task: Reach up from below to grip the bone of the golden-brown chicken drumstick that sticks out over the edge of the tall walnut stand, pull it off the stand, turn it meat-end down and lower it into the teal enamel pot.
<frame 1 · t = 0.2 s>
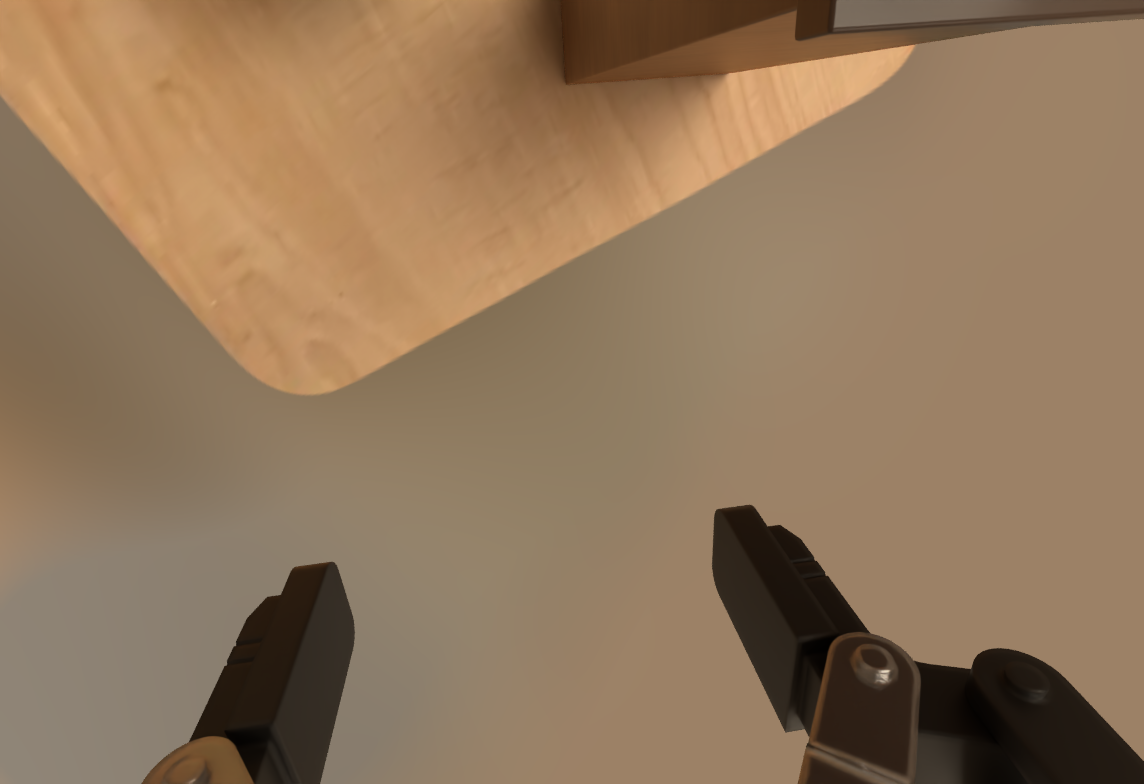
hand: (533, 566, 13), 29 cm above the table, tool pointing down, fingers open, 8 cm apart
stand: (648, 20, 34), on the table
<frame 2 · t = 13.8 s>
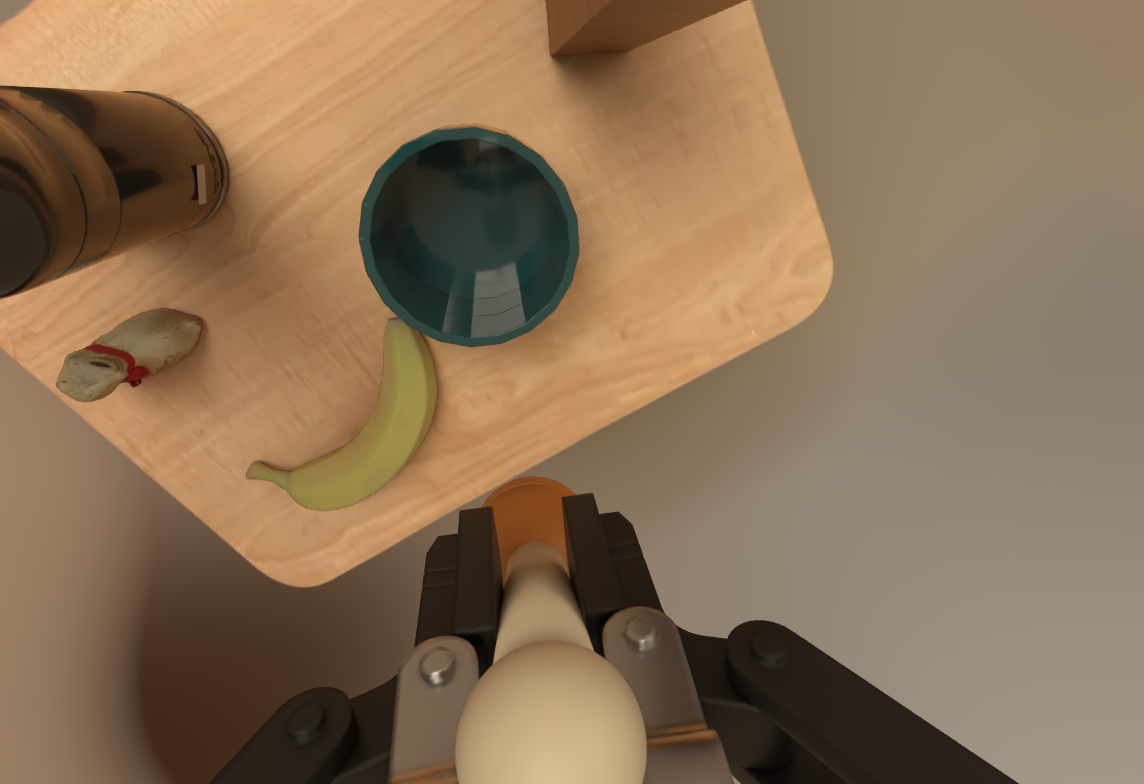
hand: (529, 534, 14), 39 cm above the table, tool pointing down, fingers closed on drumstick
pot: (475, 219, 48), on the table
chocolate bunny: (155, 338, 49), on the table
banana: (344, 416, 54), on the table
drumstick: (544, 647, 16), point 38 cm above the table, tilted 120°, touching gripper
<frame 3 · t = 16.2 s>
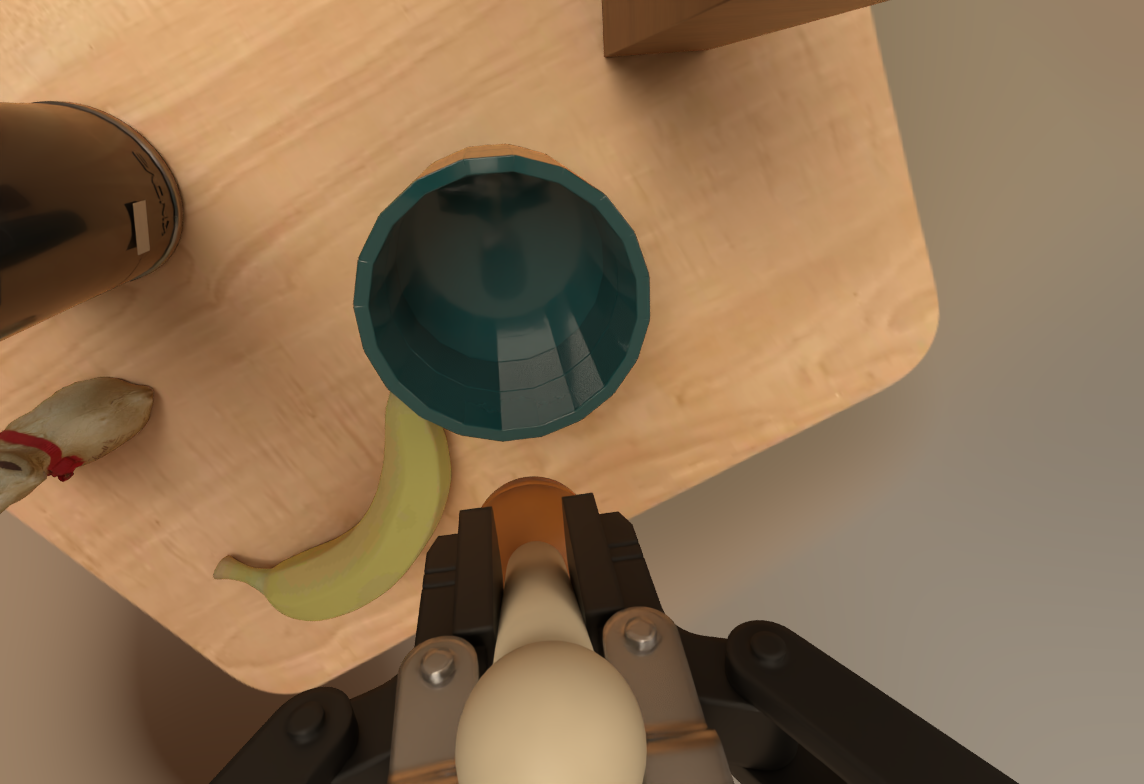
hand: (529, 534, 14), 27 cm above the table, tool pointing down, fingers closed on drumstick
pot: (502, 264, 37), on the table
chocolate bunny: (95, 413, 38), on the table
banana: (335, 500, 43), on the table
drumstick: (544, 647, 16), point 26 cm above the table, tilted 120°, touching gripper
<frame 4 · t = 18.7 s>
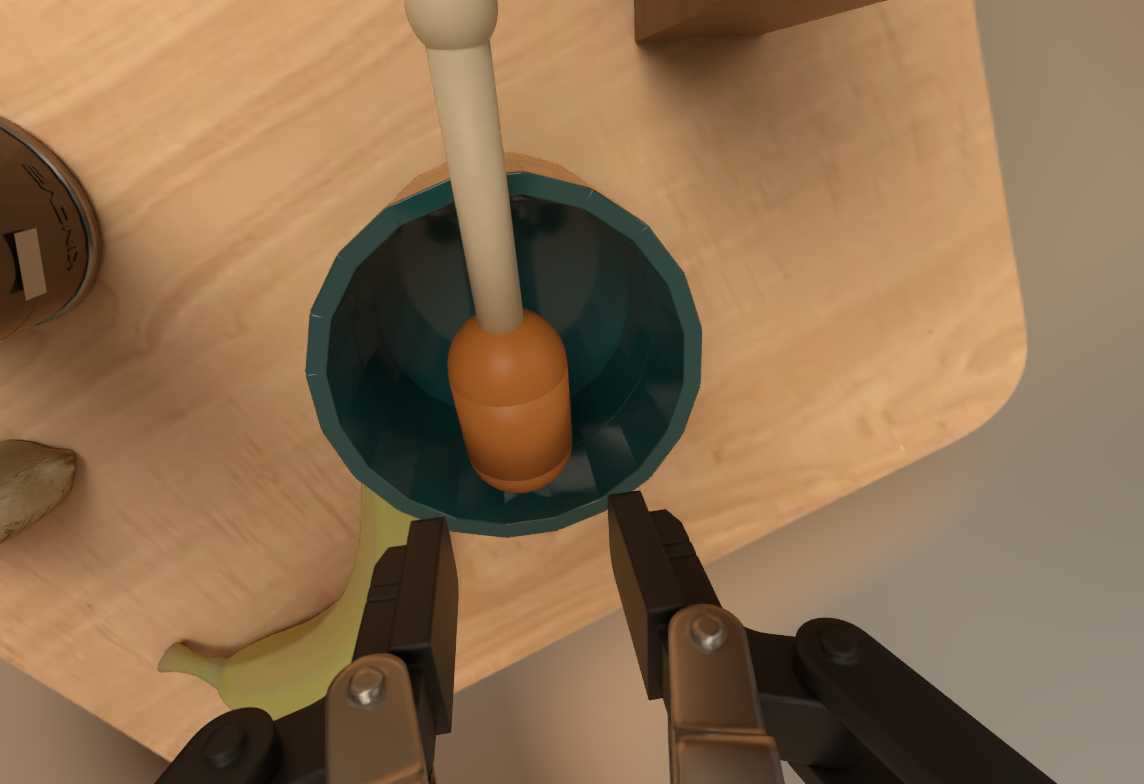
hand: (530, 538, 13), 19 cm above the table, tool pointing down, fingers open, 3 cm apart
pot: (504, 300, 30), on the table
chocolate bunny: (4, 481, 31), on the table
banana: (305, 576, 36), on the table
drumstick: (506, 373, 19), point 12 cm above the table, tilted 163°
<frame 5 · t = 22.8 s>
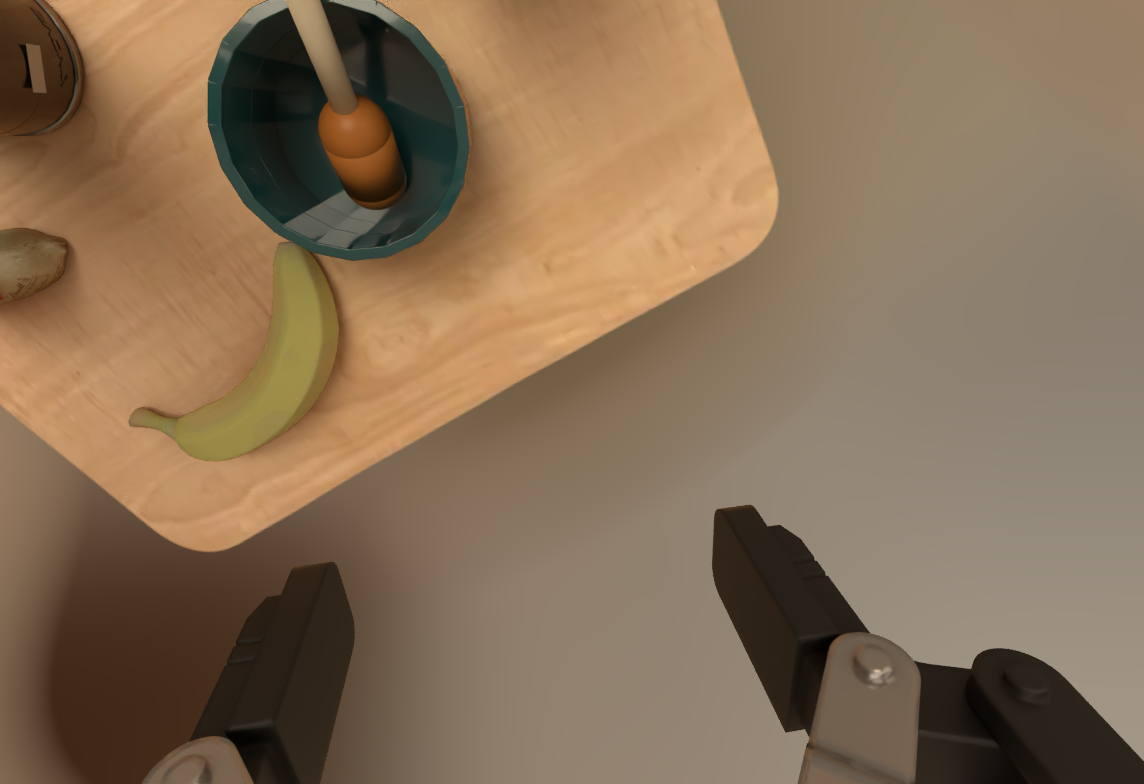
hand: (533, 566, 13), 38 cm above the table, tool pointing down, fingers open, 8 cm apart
pot: (372, 130, 43), on the table
chocolate bunny: (16, 264, 43), on the table
banana: (239, 357, 48), on the table
drumstick: (347, 140, 35), point 8 cm above the table, tilted 138°, touching pot
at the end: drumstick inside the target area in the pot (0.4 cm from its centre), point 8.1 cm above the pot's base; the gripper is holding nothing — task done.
